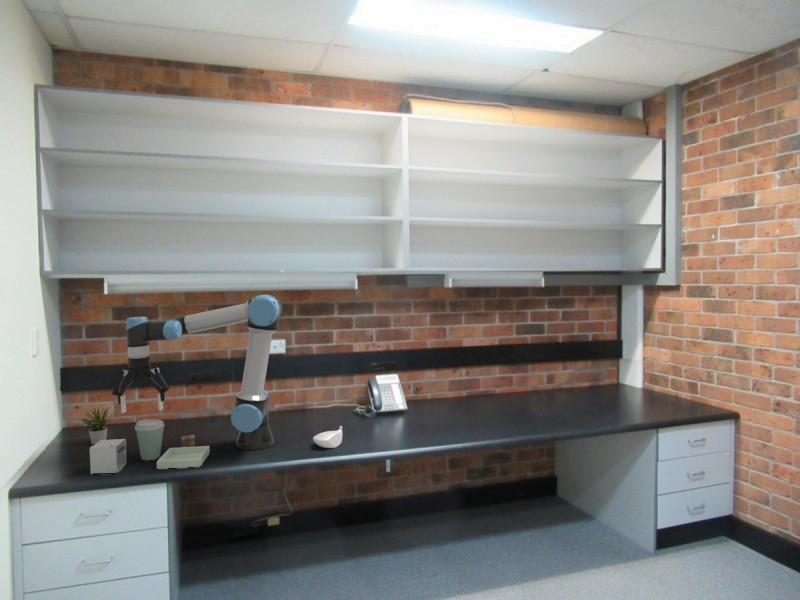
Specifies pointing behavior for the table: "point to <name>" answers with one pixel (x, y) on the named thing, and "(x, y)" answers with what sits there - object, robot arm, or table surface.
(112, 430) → the table surface
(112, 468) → the unit
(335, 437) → the golf club head
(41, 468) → the table surface
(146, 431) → the disposable coffee cup
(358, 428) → the table surface
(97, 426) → the house plant
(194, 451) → the tray
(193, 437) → the walnut block
